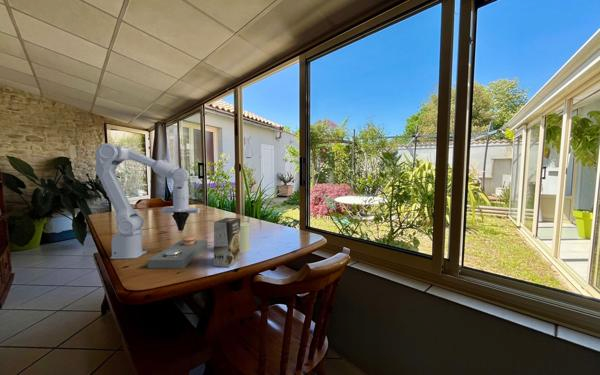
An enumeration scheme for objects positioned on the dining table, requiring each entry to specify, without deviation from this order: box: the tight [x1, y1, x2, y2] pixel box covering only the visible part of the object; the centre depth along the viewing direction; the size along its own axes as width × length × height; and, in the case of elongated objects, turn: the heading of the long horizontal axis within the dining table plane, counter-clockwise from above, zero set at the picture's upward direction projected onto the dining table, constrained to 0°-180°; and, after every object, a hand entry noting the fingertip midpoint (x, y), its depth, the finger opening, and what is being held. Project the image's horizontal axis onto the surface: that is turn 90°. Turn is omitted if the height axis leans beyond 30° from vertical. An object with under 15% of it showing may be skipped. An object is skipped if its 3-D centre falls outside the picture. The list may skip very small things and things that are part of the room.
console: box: [147, 239, 208, 269], centre depth 97 cm, size 12×25×3 cm, turn 2°
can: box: [240, 221, 251, 254], centre depth 105 cm, size 9×9×12 cm
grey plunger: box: [165, 249, 181, 257], centre depth 90 cm, size 5×5×4 cm
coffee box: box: [213, 217, 241, 268], centre depth 90 cm, size 9×6×16 cm
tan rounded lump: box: [181, 235, 196, 246], centre depth 104 cm, size 5×5×4 cm
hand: (181, 230), depth 101 cm, fingers closed
